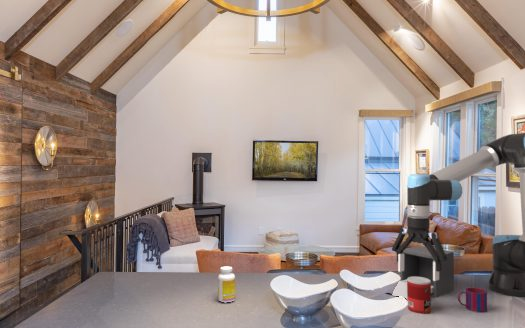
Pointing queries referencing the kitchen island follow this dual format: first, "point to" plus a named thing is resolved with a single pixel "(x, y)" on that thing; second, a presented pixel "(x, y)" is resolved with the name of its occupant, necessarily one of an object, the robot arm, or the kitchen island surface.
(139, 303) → the kitchen island surface
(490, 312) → the kitchen island surface
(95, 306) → the kitchen island surface
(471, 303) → the mug
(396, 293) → the tray
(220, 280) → the supplement bottle
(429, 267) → the housing
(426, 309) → the canned food
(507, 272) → the robot arm
